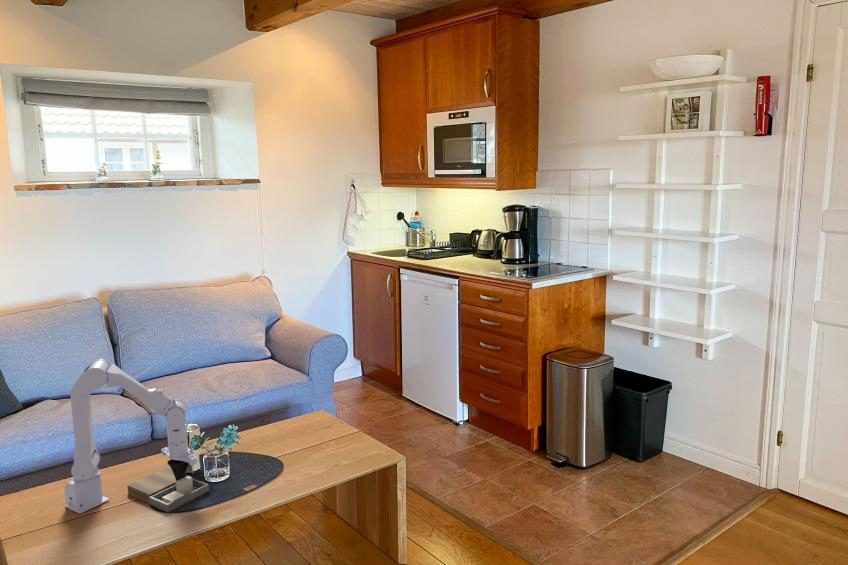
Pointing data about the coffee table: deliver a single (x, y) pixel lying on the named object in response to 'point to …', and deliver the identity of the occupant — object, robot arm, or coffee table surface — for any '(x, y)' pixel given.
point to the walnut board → (152, 484)
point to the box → (168, 507)
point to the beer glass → (191, 431)
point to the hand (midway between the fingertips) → (180, 480)
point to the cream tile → (171, 497)
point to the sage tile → (184, 485)
